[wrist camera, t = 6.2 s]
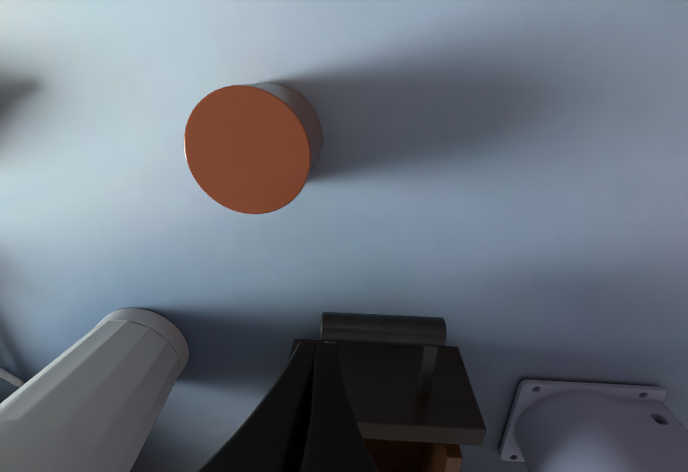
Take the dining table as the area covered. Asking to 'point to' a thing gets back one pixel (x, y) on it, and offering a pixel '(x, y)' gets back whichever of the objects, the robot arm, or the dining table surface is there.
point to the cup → (94, 398)
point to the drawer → (405, 389)
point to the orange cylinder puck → (253, 145)
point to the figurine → (10, 378)
